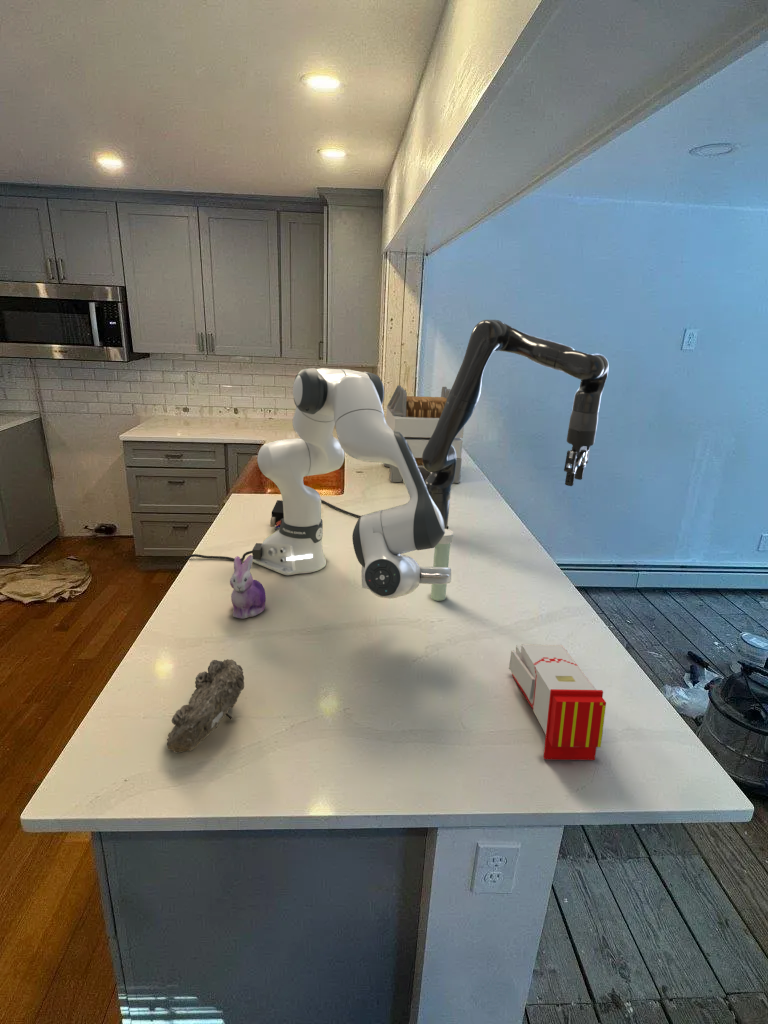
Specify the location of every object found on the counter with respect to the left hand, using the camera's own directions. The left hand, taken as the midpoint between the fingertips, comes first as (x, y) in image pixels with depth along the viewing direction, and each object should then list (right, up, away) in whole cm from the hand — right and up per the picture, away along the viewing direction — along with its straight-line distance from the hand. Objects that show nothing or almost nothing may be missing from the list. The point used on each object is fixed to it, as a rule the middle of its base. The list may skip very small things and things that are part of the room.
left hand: (412, 573), depth 136 cm
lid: (+9, +9, +14) cm, 19 cm away
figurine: (-42, -11, +10) cm, 44 cm away
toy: (+26, -25, -22) cm, 42 cm away
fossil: (-40, -24, -28) cm, 54 cm away
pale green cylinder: (+8, -9, +21) cm, 24 cm away
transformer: (+10, +34, +139) cm, 143 cm away
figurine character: (-43, +10, +66) cm, 79 cm away
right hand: (+49, +23, +29) cm, 61 cm away
